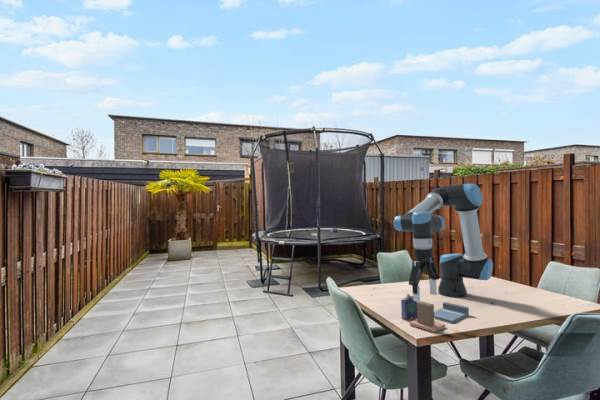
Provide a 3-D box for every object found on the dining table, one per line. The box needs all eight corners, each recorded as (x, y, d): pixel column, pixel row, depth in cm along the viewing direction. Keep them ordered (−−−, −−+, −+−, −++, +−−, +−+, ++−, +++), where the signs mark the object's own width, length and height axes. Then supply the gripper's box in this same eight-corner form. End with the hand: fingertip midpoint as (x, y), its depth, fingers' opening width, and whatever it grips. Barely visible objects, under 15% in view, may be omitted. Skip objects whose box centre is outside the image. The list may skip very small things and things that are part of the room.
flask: (404, 320, 137) (403, 296, 138) (399, 318, 140) (398, 294, 140) (419, 316, 141) (418, 293, 142) (414, 314, 144) (413, 291, 145)
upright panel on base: (409, 325, 130) (408, 302, 131) (420, 320, 136) (420, 298, 136) (434, 332, 122) (433, 308, 122) (445, 326, 127) (444, 303, 128)
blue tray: (428, 317, 140) (428, 309, 140) (445, 309, 150) (445, 302, 150) (452, 323, 132) (452, 315, 132) (468, 315, 142) (468, 307, 142)
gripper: (414, 252, 119) (417, 306, 118) (445, 245, 134) (448, 293, 134) (398, 250, 125) (400, 302, 124) (429, 244, 140) (431, 290, 140)
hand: (425, 297), depth 129 cm, fingers open, 13 cm apart
